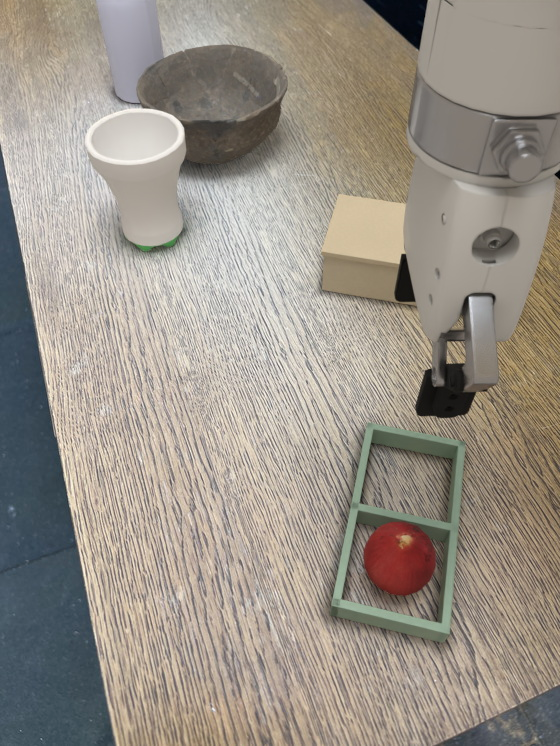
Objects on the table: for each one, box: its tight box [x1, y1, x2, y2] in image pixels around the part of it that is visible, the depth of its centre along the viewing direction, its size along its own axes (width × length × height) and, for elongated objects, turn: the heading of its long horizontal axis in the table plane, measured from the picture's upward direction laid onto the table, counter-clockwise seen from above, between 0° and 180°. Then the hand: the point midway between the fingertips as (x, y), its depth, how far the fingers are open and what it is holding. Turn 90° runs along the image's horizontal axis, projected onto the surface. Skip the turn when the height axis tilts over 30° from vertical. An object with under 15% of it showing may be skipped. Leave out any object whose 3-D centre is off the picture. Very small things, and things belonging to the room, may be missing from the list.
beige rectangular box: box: [320, 193, 417, 307], centre depth 76 cm, size 23×11×6 cm, turn 76°
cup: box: [84, 107, 186, 252], centre depth 78 cm, size 11×11×14 cm
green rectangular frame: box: [329, 421, 467, 644], centre depth 58 cm, size 9×18×2 cm, turn 166°
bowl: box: [136, 43, 289, 165], centre depth 92 cm, size 21×21×10 cm
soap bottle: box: [94, 0, 165, 104], centre depth 96 cm, size 9×9×24 cm
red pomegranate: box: [362, 522, 437, 597], centre depth 53 cm, size 6×6×8 cm
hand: (427, 351), depth 43 cm, fingers open, 9 cm apart
